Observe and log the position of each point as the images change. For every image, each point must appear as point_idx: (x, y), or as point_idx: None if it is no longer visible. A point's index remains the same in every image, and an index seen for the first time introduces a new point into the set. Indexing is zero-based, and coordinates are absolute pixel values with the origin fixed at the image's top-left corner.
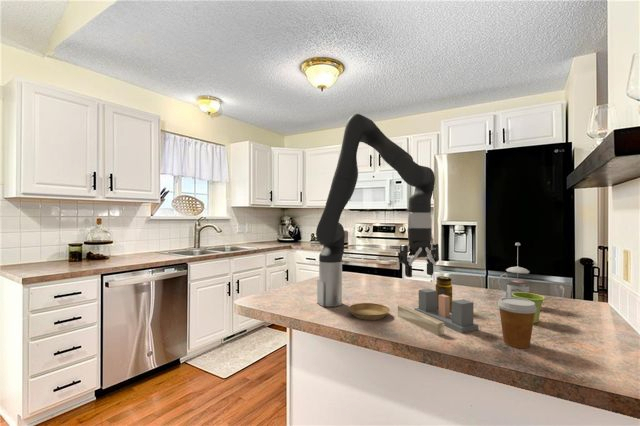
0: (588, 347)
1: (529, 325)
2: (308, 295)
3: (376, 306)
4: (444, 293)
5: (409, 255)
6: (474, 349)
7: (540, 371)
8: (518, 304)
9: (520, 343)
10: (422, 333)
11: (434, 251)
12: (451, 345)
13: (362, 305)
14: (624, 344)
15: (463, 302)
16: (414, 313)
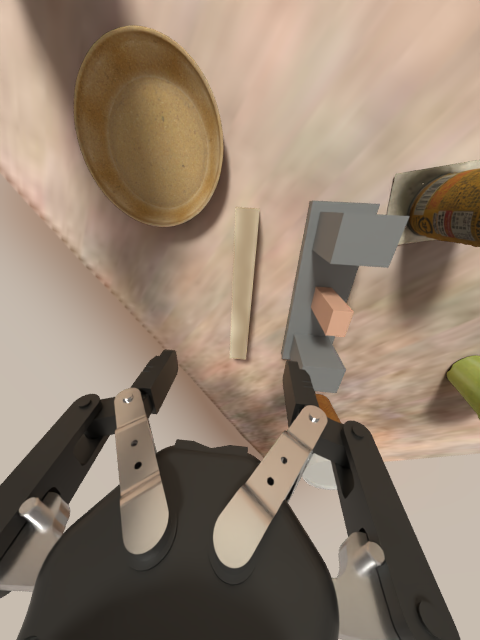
0: (379, 440)
1: None
2: None
3: (204, 96)
4: (457, 235)
5: (133, 447)
6: (242, 391)
7: (257, 437)
8: (319, 477)
9: None
10: (215, 325)
11: (353, 528)
12: (223, 372)
13: (152, 46)
14: (429, 453)
15: (315, 384)
16: (232, 290)
